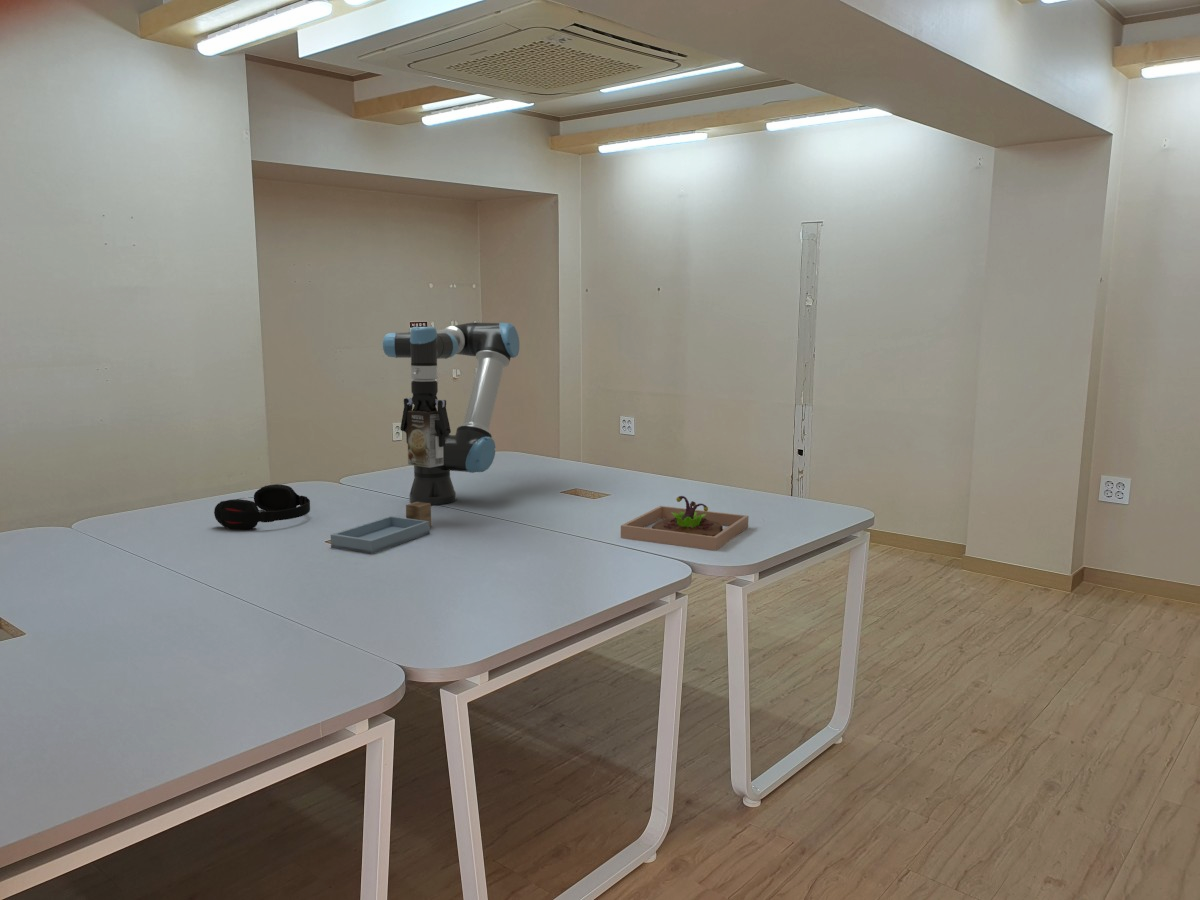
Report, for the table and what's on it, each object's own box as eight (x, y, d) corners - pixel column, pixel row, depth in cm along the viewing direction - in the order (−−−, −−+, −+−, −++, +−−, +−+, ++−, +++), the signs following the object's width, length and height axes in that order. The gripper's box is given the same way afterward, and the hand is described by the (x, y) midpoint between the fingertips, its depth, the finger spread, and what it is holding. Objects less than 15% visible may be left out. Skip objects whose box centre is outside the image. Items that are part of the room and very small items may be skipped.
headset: (223, 512, 273) (221, 485, 271) (312, 507, 280) (310, 480, 279) (211, 534, 246) (209, 504, 245) (309, 528, 253) (307, 498, 252)
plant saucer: (620, 537, 243) (620, 525, 243) (660, 516, 268) (660, 505, 267) (715, 550, 231) (716, 537, 230) (748, 527, 255) (748, 515, 255)
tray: (331, 547, 233) (330, 534, 232) (391, 527, 254) (390, 515, 253) (371, 554, 226) (371, 541, 226) (429, 533, 247) (429, 521, 247)
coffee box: (406, 465, 257) (405, 410, 255) (422, 462, 263) (420, 409, 260) (429, 468, 252) (428, 412, 250) (445, 465, 258) (444, 411, 255)
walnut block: (406, 528, 253) (405, 504, 252) (417, 524, 257) (417, 501, 256) (420, 530, 251) (419, 506, 250) (431, 526, 255) (430, 503, 254)
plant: (659, 524, 261) (659, 487, 259) (724, 528, 256) (725, 490, 254) (646, 541, 242) (647, 501, 240) (717, 545, 237) (718, 505, 235)
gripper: (386, 379, 255) (388, 455, 259) (447, 382, 246) (448, 461, 249) (403, 378, 262) (404, 452, 265) (462, 380, 252) (463, 457, 255)
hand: (425, 456), depth 257 cm, fingers closed on coffee box, 9 cm apart
